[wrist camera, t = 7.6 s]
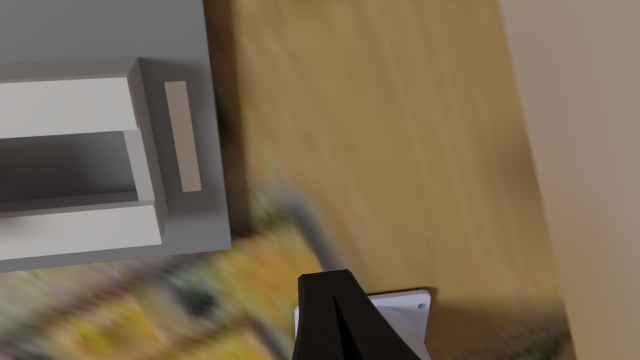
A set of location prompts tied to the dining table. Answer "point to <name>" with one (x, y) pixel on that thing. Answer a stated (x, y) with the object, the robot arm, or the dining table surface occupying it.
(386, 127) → the dining table surface
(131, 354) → the dining table surface
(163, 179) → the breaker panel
